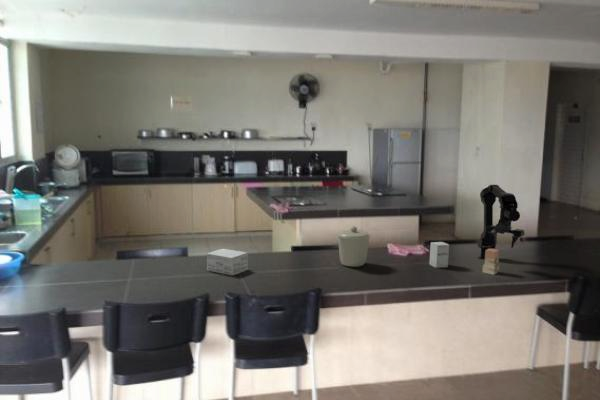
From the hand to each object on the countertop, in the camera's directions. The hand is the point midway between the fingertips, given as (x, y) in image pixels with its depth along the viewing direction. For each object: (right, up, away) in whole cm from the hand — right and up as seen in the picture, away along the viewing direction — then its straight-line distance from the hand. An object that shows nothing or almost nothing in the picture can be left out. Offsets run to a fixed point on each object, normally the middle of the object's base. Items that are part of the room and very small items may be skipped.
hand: (503, 246), depth 273 cm
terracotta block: (-8, -5, -5) cm, 11 cm away
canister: (-79, -11, +6) cm, 80 cm away
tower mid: (-8, -9, -5) cm, 13 cm away
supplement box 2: (-145, -12, -8) cm, 146 cm away
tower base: (-8, -13, -4) cm, 16 cm away
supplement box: (-33, -11, +6) cm, 35 cm away
